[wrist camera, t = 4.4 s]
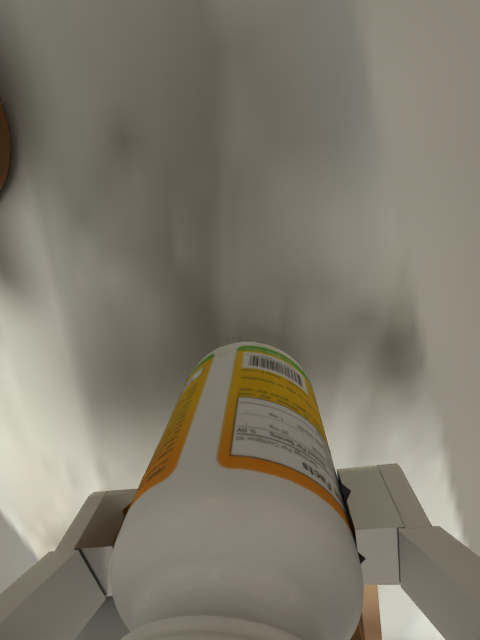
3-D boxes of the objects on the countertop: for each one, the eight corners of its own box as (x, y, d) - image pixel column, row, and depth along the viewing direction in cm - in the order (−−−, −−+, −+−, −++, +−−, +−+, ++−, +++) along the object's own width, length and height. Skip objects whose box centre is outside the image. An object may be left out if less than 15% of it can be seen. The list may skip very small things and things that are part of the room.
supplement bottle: (211, 454, 14) (114, 901, 5) (168, 356, 12) (-96, 755, 3) (325, 432, 13) (463, 935, 4) (295, 322, 11) (413, 754, 2)
